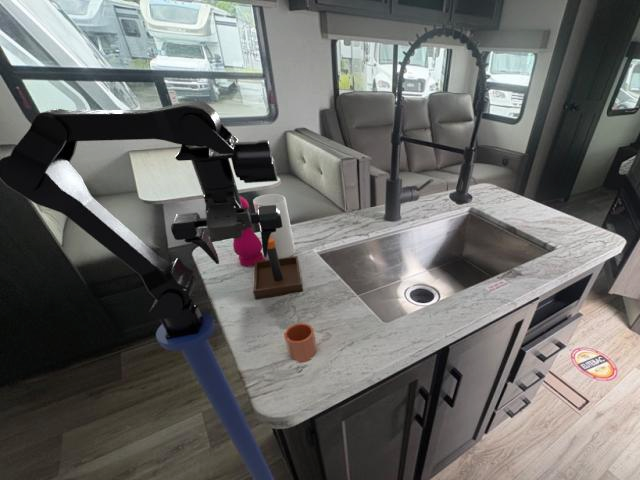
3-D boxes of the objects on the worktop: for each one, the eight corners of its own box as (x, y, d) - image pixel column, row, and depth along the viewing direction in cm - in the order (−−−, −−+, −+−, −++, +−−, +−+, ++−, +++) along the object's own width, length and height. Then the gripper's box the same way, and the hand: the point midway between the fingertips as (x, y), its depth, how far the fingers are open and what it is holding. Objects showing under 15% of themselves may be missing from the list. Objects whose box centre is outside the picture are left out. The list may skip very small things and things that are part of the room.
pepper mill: (232, 264, 90) (208, 192, 77) (251, 252, 95) (231, 184, 83) (253, 269, 87) (231, 197, 75) (270, 257, 93) (253, 188, 81)
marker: (273, 281, 83) (263, 242, 76) (273, 277, 84) (263, 238, 77) (283, 280, 83) (274, 241, 76) (283, 275, 85) (274, 237, 78)
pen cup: (290, 365, 61) (284, 345, 58) (288, 345, 65) (283, 326, 62) (318, 359, 63) (315, 339, 59) (315, 340, 67) (312, 320, 64)
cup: (270, 245, 98) (257, 194, 89) (297, 245, 99) (287, 193, 89) (263, 259, 92) (249, 205, 82) (292, 258, 93) (281, 205, 83)
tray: (255, 299, 77) (252, 291, 76) (256, 269, 88) (254, 261, 86) (303, 291, 80) (301, 284, 79) (299, 263, 91) (297, 255, 89)
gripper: (146, 206, 49) (185, 289, 58) (275, 194, 54) (291, 272, 64) (162, 183, 57) (194, 259, 67) (272, 175, 62) (287, 246, 72)
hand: (242, 259), depth 67 cm, fingers open, 9 cm apart
